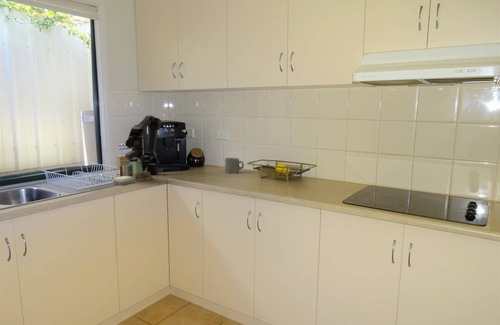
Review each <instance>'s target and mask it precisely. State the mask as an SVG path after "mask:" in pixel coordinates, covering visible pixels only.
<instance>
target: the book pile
mask: <svg viewBox="0 0 500 325" xmlns="http://www.w3.org/2000/svg"><path fill="white" fill-rule="evenodd" d="M112 183H115V184H114V185H118V186H125V185H130V184H131V185H132V184H135V183H136V181H135V180H134V179H133V177H129V176H122V177H120V176H117V177H113V178H112Z"/></svg>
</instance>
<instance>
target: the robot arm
mask: <svg viewBox="0 0 500 325" xmlns="http://www.w3.org/2000/svg"><path fill="white" fill-rule="evenodd" d="M161 126H162V120H161V119H160V118H159V117H155V116H154V115H146V116H144V118H143V119H142V120H141V122H139V123H138V124H135V125H134V126H132V127H131V128H130V132H129V134H128V138H127V139H126V140H125V142H124V143H125V147H126V148H128V149H131V151H128V152H127V153H125V154H124V155H125V156H126V158H127V159H128V160H129V161H130V164H132V162H135V161H140V163H141V164H142V170H143V172H144V171H145V169H146V172H151V176H155V175H159V174H160V173H159V172H158V167H159V166H160V161H159V159H158V154H157V153H156V148H157V147H156V146H157V139H158V132H159V130H160V129H161ZM147 128H149V138H148V145H147V146H148V147H147V151H145V152H144V150H145V147H144V139H145V137H144V135H145V133H146V129H147Z"/></svg>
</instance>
